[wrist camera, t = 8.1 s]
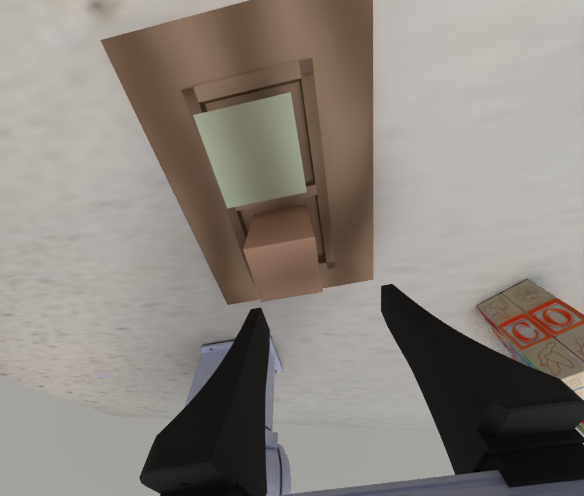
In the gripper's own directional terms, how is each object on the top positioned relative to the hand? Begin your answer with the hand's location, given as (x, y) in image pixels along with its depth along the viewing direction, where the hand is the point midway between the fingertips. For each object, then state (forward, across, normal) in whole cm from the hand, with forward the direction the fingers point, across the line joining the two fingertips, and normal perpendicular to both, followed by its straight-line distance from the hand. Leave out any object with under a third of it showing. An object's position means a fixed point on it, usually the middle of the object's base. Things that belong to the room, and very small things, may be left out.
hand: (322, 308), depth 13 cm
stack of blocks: (+10, -27, +22) cm, 36 cm away
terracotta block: (+8, +2, -1) cm, 9 cm away
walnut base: (+9, +2, -5) cm, 11 cm away
